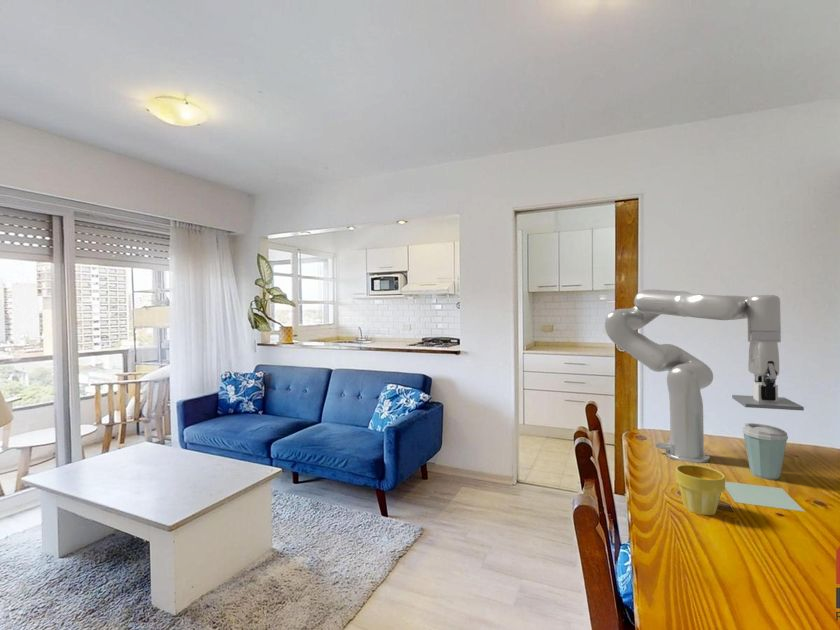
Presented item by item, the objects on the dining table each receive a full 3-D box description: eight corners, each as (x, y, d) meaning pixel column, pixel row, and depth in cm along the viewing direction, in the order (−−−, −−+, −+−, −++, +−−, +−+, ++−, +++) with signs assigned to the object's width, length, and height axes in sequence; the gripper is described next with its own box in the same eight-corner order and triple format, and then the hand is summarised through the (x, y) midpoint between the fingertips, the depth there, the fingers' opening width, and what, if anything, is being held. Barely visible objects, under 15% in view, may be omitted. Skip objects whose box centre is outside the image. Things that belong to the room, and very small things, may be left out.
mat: (735, 503, 107) (735, 502, 107) (720, 482, 120) (720, 480, 120) (805, 513, 101) (804, 511, 101) (781, 489, 114) (781, 488, 114)
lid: (745, 407, 119) (745, 386, 119) (732, 398, 131) (731, 379, 131) (803, 410, 114) (803, 388, 114) (784, 400, 126) (783, 381, 125)
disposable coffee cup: (781, 472, 125) (780, 423, 125) (795, 487, 115) (795, 433, 115) (738, 467, 130) (737, 420, 130) (748, 481, 120) (747, 429, 120)
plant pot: (717, 503, 107) (716, 465, 107) (732, 523, 97) (732, 482, 97) (671, 498, 110) (670, 462, 110) (682, 516, 101) (681, 477, 101)
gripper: (739, 335, 131) (740, 392, 131) (758, 338, 116) (759, 403, 116) (769, 335, 128) (770, 393, 128) (792, 338, 113) (793, 405, 113)
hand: (765, 397), depth 122 cm, fingers closed on lid, 4 cm apart
